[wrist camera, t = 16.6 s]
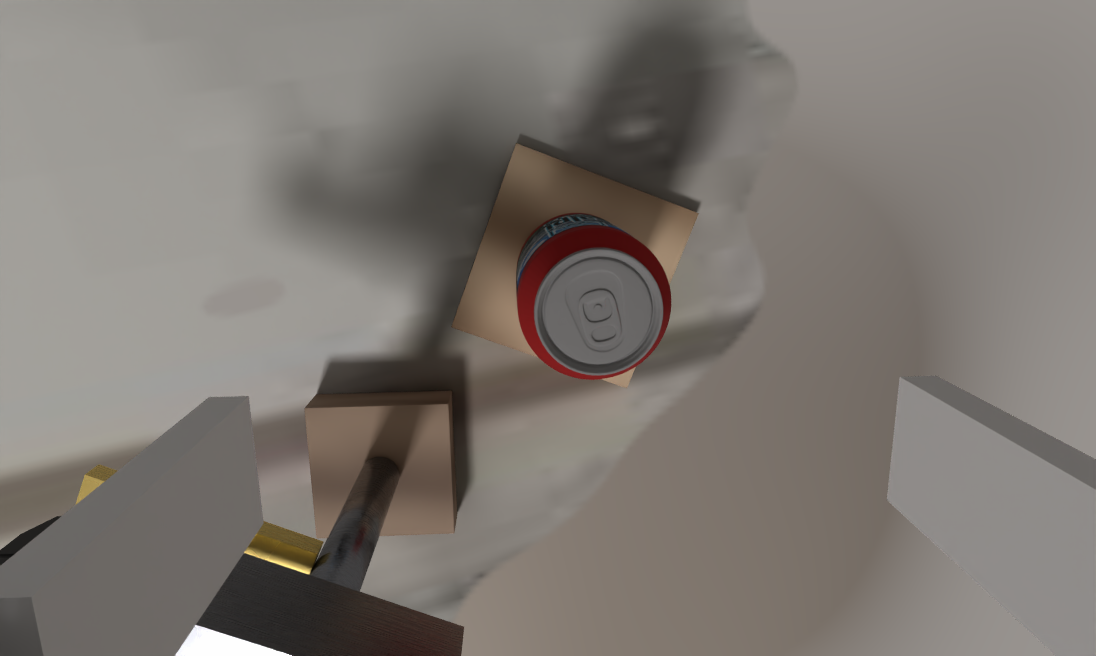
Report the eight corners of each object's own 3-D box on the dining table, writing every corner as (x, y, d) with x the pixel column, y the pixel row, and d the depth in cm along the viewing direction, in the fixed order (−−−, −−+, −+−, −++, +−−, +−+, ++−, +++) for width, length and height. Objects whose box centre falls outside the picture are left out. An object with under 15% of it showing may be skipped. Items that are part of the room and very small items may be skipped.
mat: (516, 143, 40) (516, 143, 40) (695, 212, 42) (698, 213, 41) (452, 324, 42) (451, 327, 42) (625, 385, 44) (626, 388, 43)
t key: (189, 427, 40) (-42, 617, 23) (202, 388, 40) (-25, 554, 23) (462, 524, 42) (430, 763, 25) (478, 489, 42) (455, 708, 25)
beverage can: (618, 197, 41) (661, 212, 29) (644, 311, 42) (695, 369, 30) (501, 228, 41) (497, 255, 29) (532, 340, 42) (540, 409, 31)
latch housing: (316, 394, 43) (304, 408, 40) (451, 390, 43) (448, 403, 41) (327, 517, 45) (316, 538, 42) (457, 513, 45) (454, 533, 43)
